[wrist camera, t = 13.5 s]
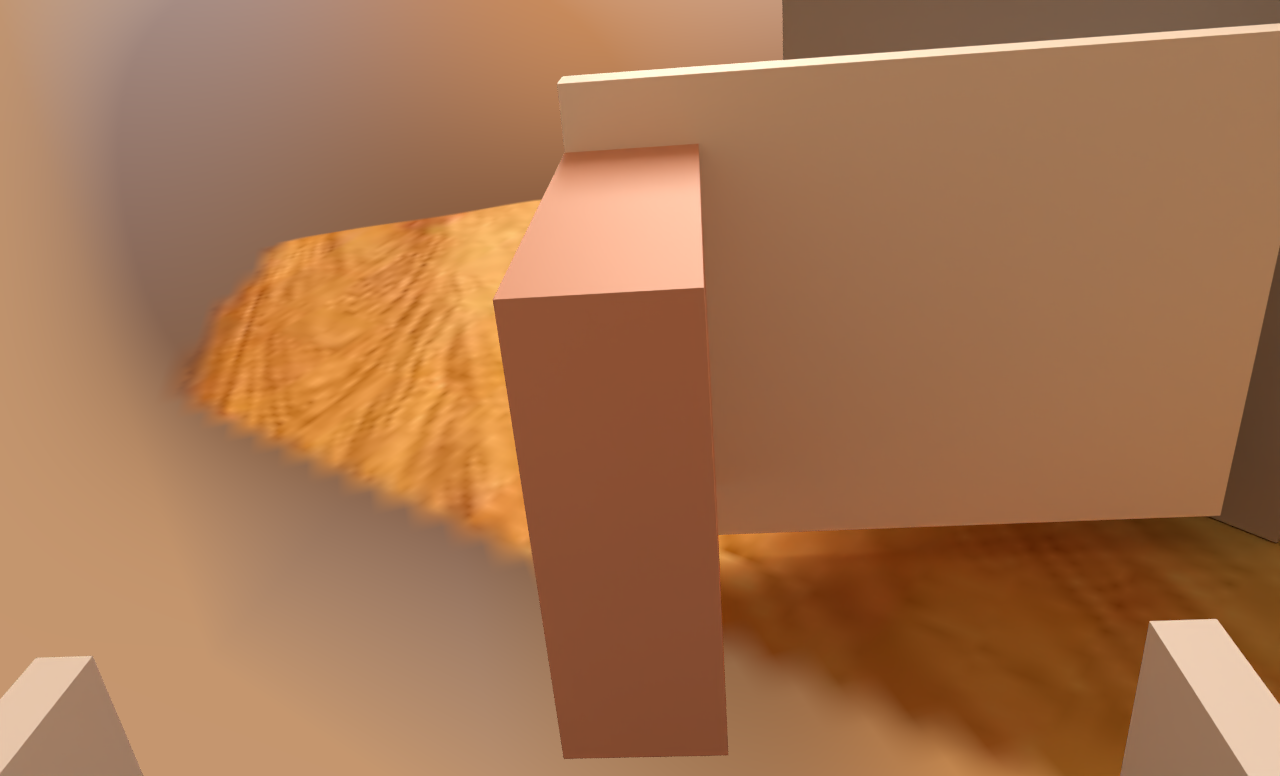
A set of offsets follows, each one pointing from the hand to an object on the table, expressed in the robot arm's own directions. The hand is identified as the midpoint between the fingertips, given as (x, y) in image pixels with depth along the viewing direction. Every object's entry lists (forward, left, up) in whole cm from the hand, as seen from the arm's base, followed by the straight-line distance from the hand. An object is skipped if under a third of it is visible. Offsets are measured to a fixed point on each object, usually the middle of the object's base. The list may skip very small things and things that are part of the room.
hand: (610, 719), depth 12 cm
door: (+7, -8, -6) cm, 12 cm away
